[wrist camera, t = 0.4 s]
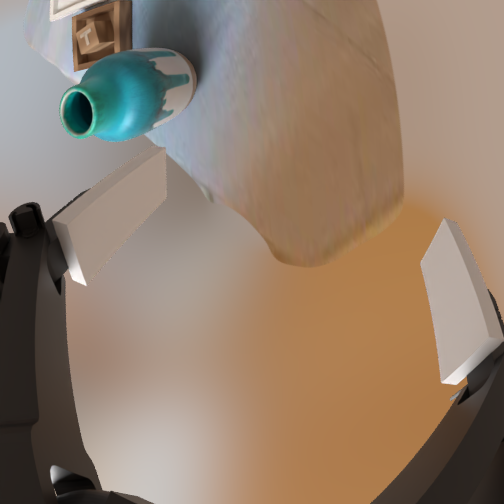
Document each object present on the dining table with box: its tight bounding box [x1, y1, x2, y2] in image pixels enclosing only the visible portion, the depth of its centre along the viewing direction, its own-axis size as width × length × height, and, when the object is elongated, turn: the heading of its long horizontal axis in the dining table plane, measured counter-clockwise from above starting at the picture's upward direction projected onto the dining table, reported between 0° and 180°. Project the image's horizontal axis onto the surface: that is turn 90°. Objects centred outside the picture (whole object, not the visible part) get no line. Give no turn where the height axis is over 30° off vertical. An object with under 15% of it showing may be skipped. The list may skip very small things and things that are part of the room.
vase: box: [59, 48, 197, 142], centre depth 29 cm, size 11×11×19 cm
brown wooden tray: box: [72, 0, 132, 72], centre depth 31 cm, size 10×10×3 cm
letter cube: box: [76, 20, 114, 55], centre depth 30 cm, size 4×4×4 cm
